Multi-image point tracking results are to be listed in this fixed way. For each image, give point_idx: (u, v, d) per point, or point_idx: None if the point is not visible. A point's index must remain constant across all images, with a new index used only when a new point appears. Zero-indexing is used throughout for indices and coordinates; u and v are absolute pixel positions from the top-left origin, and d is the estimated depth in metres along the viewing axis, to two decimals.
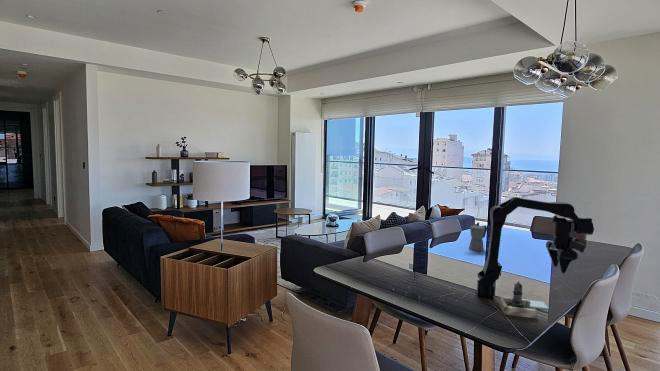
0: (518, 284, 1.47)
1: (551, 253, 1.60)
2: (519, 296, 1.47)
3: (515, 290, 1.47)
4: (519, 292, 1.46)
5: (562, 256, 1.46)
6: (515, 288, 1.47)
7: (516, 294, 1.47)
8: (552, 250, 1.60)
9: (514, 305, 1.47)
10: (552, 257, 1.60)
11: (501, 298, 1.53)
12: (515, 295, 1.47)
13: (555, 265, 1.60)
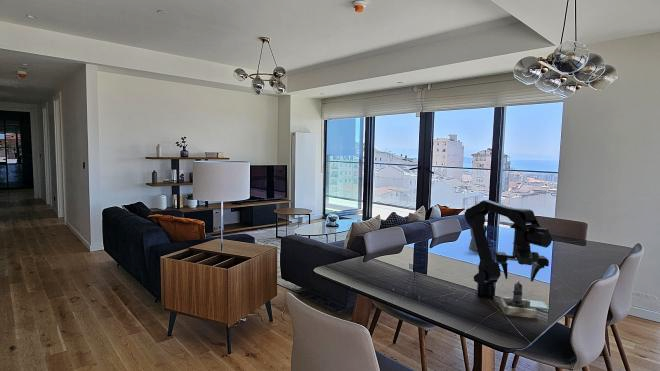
0: (518, 284, 1.47)
1: (532, 266, 1.48)
2: (519, 296, 1.47)
3: (515, 290, 1.47)
4: (519, 292, 1.46)
5: None
6: (515, 288, 1.47)
7: (516, 294, 1.47)
8: (533, 263, 1.47)
9: (514, 305, 1.47)
10: (531, 270, 1.48)
11: (501, 298, 1.53)
12: (515, 295, 1.47)
13: (531, 279, 1.47)
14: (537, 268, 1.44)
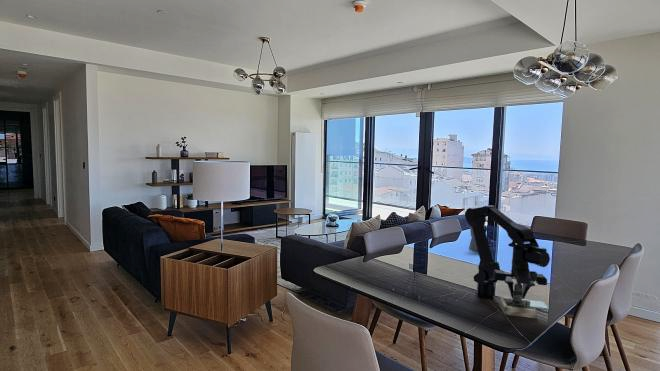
0: (518, 284, 1.47)
1: (523, 283, 1.49)
2: (519, 296, 1.47)
3: (515, 290, 1.47)
4: (519, 292, 1.46)
5: None
6: (515, 288, 1.47)
7: (516, 294, 1.47)
8: None
9: (514, 305, 1.47)
10: (522, 288, 1.49)
11: (501, 298, 1.53)
12: (515, 295, 1.47)
13: (522, 297, 1.48)
14: (528, 286, 1.45)
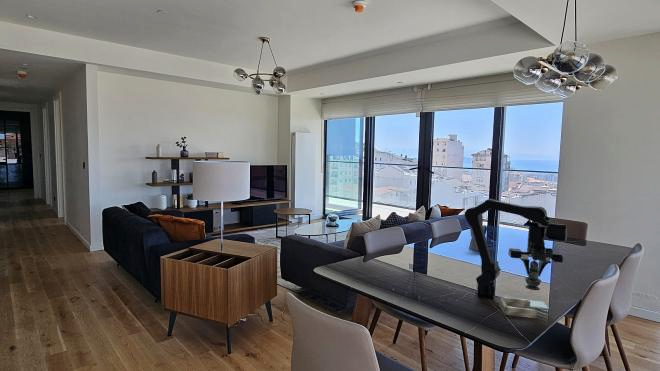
0: (534, 262, 1.50)
1: (539, 262, 1.52)
2: (535, 273, 1.50)
3: (531, 268, 1.51)
4: (535, 269, 1.50)
5: None
6: (531, 266, 1.51)
7: (532, 271, 1.50)
8: None
9: (530, 282, 1.50)
10: (538, 266, 1.52)
11: (501, 298, 1.53)
12: (531, 273, 1.50)
13: (538, 274, 1.51)
14: (544, 263, 1.48)
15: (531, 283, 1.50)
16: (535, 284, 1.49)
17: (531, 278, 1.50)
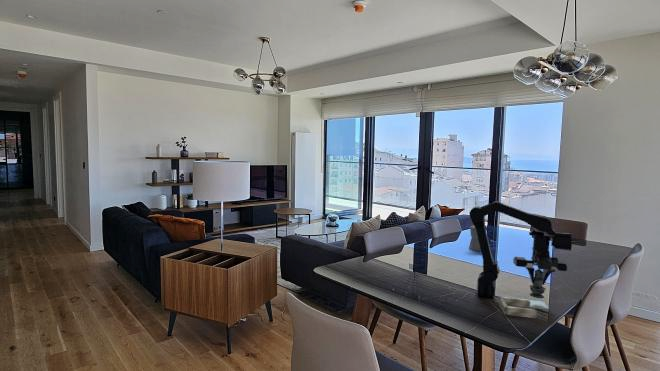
0: (539, 270, 1.53)
1: (543, 270, 1.55)
2: (540, 282, 1.52)
3: (536, 276, 1.53)
4: (540, 278, 1.52)
5: (513, 261, 1.58)
6: (536, 274, 1.53)
7: (537, 280, 1.52)
8: None
9: (535, 290, 1.52)
10: None
11: (501, 298, 1.53)
12: (536, 281, 1.53)
13: (542, 283, 1.53)
14: (548, 272, 1.50)
15: (536, 291, 1.52)
16: (540, 292, 1.52)
17: (536, 286, 1.53)
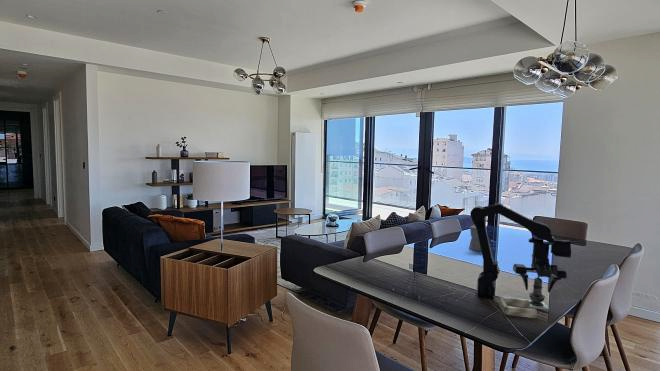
0: (538, 278, 1.53)
1: (549, 278, 1.54)
2: (539, 290, 1.52)
3: (535, 284, 1.53)
4: (539, 286, 1.52)
5: (513, 268, 1.58)
6: (535, 282, 1.53)
7: (536, 288, 1.53)
8: None
9: (534, 298, 1.52)
10: (548, 282, 1.54)
11: (501, 298, 1.53)
12: (535, 289, 1.53)
13: (548, 290, 1.53)
14: (554, 280, 1.50)
15: (535, 299, 1.52)
16: (539, 300, 1.52)
17: (535, 294, 1.53)
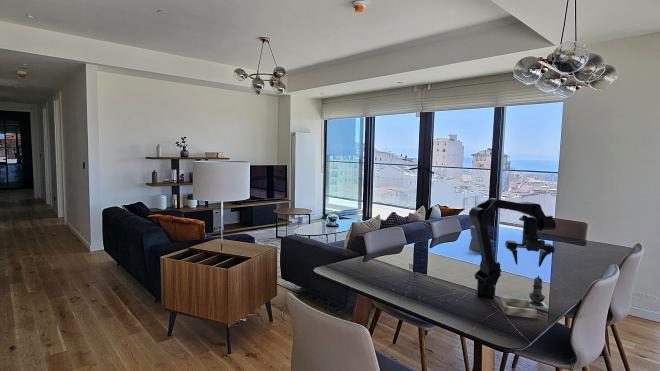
0: (538, 278, 1.53)
1: (540, 253, 1.66)
2: (539, 290, 1.52)
3: (535, 284, 1.53)
4: (539, 286, 1.52)
5: None
6: (535, 282, 1.53)
7: (536, 288, 1.53)
8: (541, 250, 1.65)
9: (534, 298, 1.52)
10: (539, 257, 1.66)
11: (501, 298, 1.53)
12: (535, 289, 1.53)
13: None
14: (544, 254, 1.62)
15: (535, 299, 1.52)
16: (539, 300, 1.52)
17: (535, 294, 1.53)
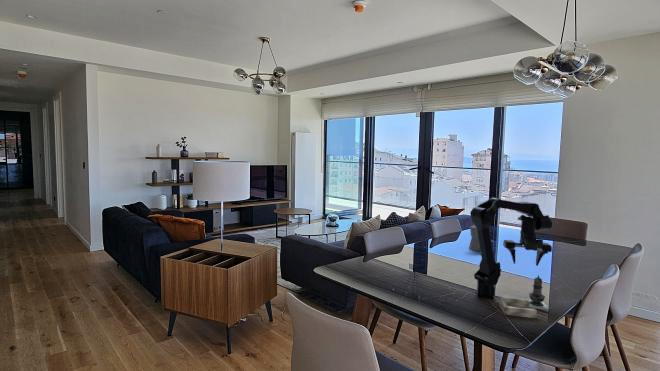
0: (538, 278, 1.53)
1: (537, 252, 1.68)
2: (539, 290, 1.52)
3: (535, 284, 1.53)
4: (539, 286, 1.52)
5: None
6: (535, 282, 1.53)
7: (536, 288, 1.53)
8: (538, 250, 1.67)
9: (534, 298, 1.52)
10: (536, 256, 1.68)
11: (501, 298, 1.53)
12: (535, 289, 1.53)
13: (536, 264, 1.67)
14: (541, 253, 1.64)
15: (535, 299, 1.52)
16: (539, 300, 1.52)
17: (535, 294, 1.53)
